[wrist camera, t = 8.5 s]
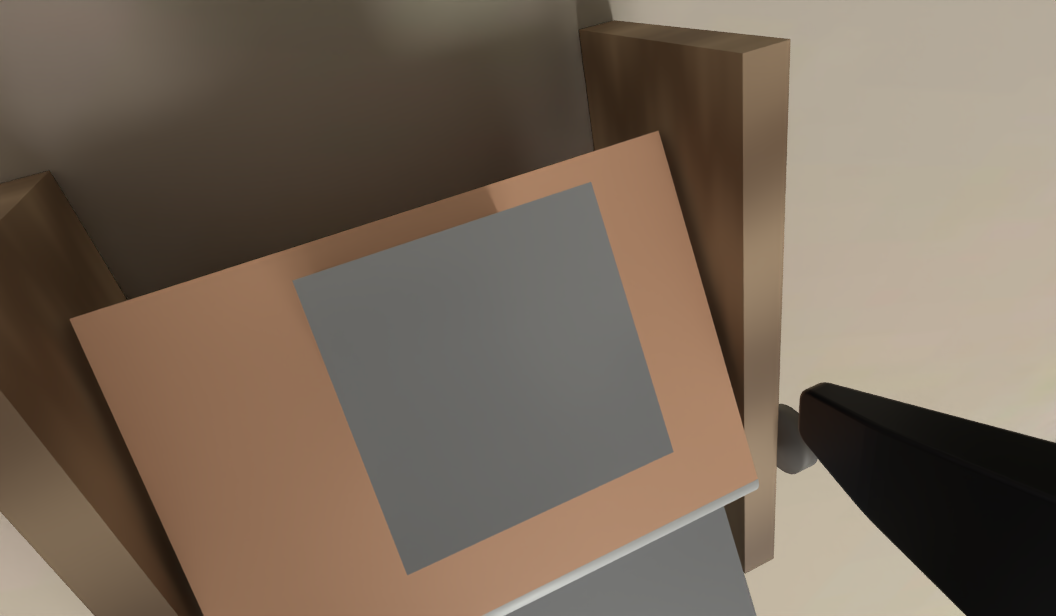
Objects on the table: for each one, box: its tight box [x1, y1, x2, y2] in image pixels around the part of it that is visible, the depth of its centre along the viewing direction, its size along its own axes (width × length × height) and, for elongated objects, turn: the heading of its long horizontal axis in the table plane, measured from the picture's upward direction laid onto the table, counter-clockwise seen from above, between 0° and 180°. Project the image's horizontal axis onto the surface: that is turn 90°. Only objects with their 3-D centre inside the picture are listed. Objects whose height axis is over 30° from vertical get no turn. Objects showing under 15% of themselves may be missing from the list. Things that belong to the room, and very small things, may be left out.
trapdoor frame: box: [0, 21, 818, 616], centre depth 18 cm, size 17×18×8 cm
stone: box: [293, 182, 674, 575], centre depth 12 cm, size 4×4×6 cm
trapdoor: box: [70, 131, 759, 616], centre depth 18 cm, size 15×14×4 cm
